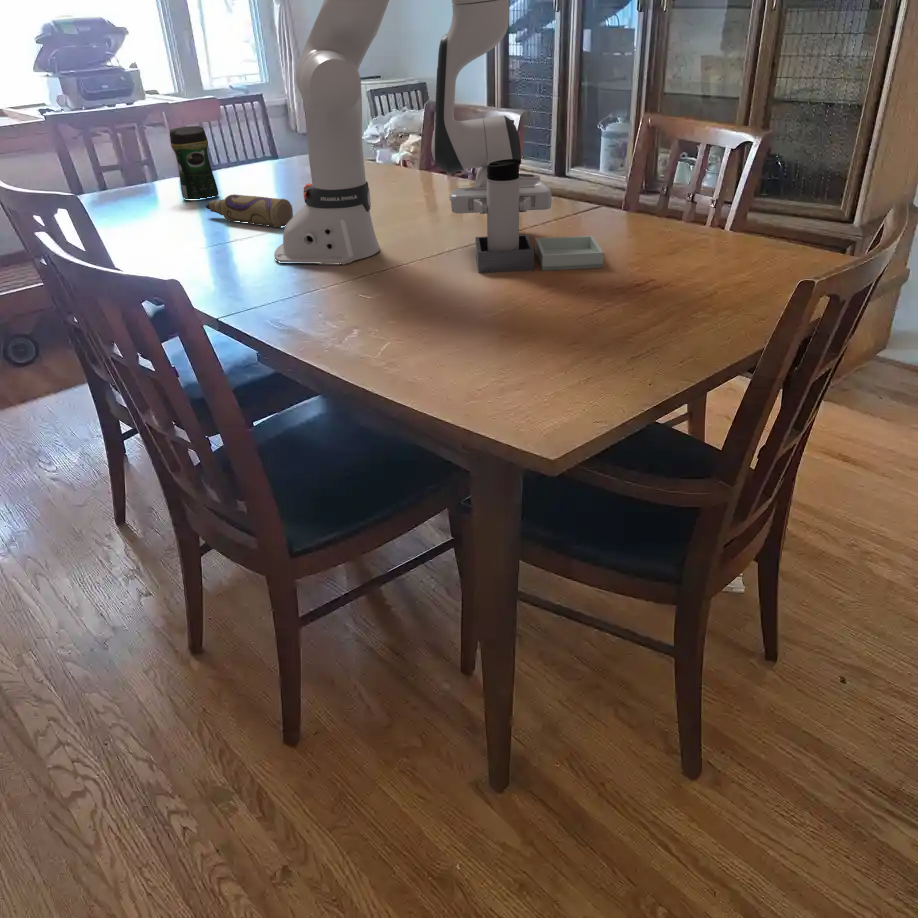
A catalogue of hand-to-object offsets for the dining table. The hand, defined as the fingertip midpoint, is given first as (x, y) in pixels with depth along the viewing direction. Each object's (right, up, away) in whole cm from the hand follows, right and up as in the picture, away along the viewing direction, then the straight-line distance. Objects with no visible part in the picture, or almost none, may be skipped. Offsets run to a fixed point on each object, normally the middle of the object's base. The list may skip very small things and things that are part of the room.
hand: (503, 208), depth 154 cm
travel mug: (0, -9, +7) cm, 11 cm away
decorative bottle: (-60, +10, +43) cm, 75 cm away
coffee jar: (-81, +24, +67) cm, 107 cm away
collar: (0, -9, +6) cm, 11 cm away
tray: (+13, -8, +7) cm, 17 cm away
